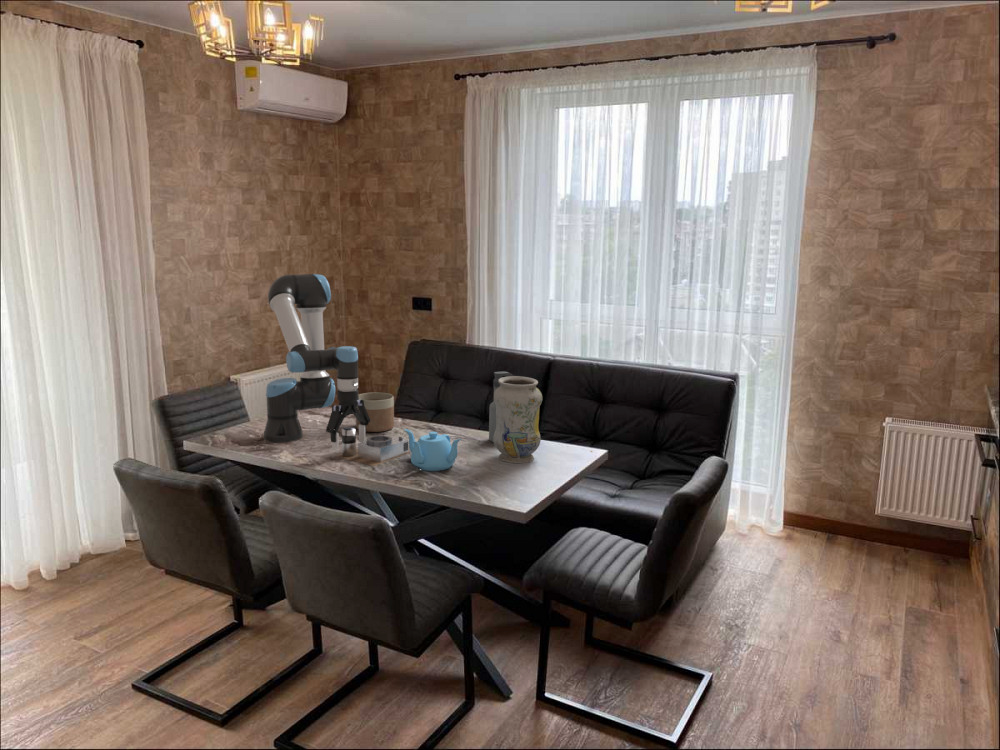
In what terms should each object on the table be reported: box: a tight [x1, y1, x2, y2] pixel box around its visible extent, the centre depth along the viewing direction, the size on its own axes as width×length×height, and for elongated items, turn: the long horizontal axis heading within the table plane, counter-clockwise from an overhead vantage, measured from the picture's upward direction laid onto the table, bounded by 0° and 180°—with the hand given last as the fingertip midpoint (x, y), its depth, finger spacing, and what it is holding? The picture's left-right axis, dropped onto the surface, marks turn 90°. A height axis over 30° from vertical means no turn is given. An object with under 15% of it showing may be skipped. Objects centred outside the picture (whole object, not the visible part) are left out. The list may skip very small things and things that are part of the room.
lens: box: [341, 426, 357, 457], centre depth 276 cm, size 5×5×10 cm
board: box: [335, 448, 411, 467], centre depth 278 cm, size 19×20×1 cm
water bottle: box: [488, 371, 515, 443], centre depth 302 cm, size 10×10×28 cm
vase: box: [493, 375, 543, 464], centre depth 278 cm, size 18×18×30 cm
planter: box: [355, 392, 395, 433], centre depth 318 cm, size 16×16×14 cm
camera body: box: [357, 434, 409, 462], centre depth 278 cm, size 11×15×6 cm
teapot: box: [404, 428, 462, 472], centre depth 270 cm, size 17×19×12 cm
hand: (349, 446), depth 276 cm, fingers open, 13 cm apart
